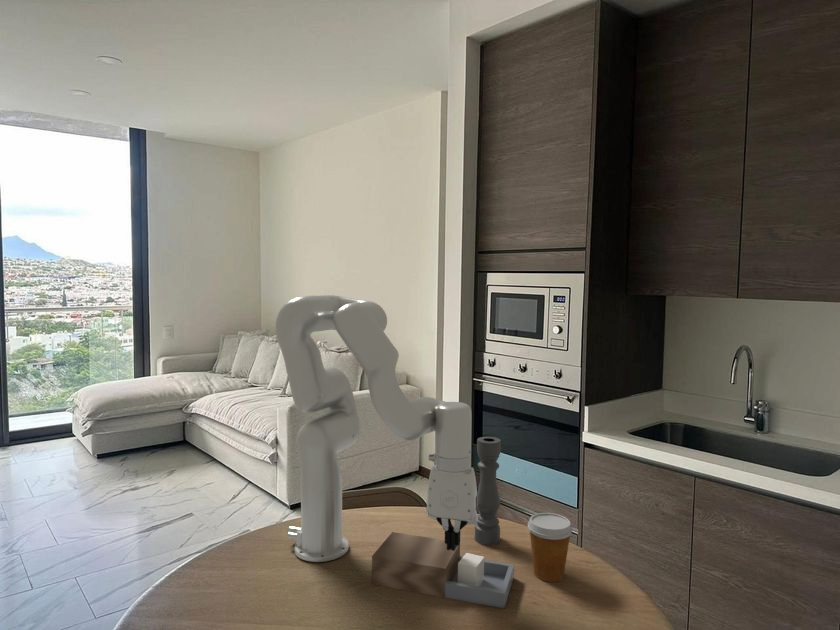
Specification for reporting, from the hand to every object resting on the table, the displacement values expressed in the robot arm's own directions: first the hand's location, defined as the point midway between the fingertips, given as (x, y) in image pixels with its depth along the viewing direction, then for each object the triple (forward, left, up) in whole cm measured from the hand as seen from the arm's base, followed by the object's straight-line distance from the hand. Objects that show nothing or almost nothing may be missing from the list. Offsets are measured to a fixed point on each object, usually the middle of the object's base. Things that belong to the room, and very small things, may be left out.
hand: (452, 547), depth 119 cm
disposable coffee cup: (+19, +10, -8) cm, 23 cm away
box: (+6, 0, -8) cm, 10 cm away
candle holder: (+3, +22, -8) cm, 24 cm away
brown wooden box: (-8, 0, -8) cm, 11 cm away
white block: (+2, 0, -5) cm, 5 cm away
